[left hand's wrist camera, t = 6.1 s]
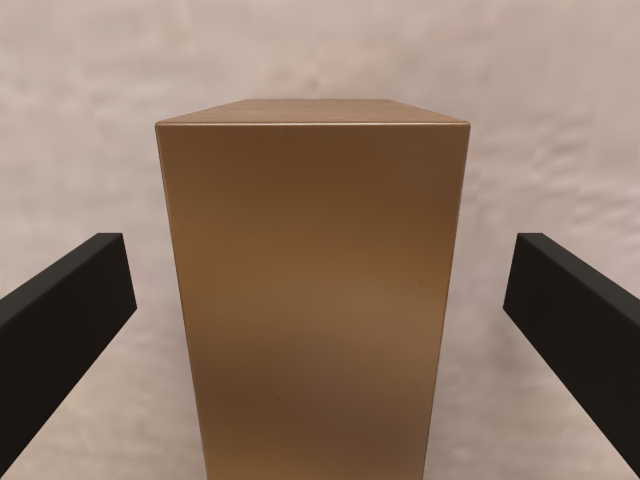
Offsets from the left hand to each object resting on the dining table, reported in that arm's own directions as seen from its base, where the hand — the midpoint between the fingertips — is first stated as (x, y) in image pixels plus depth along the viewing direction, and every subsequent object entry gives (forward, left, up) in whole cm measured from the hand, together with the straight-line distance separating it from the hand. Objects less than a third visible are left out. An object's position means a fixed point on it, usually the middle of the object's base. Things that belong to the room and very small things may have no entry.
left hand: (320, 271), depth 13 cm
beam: (+6, -20, -2) cm, 21 cm away
